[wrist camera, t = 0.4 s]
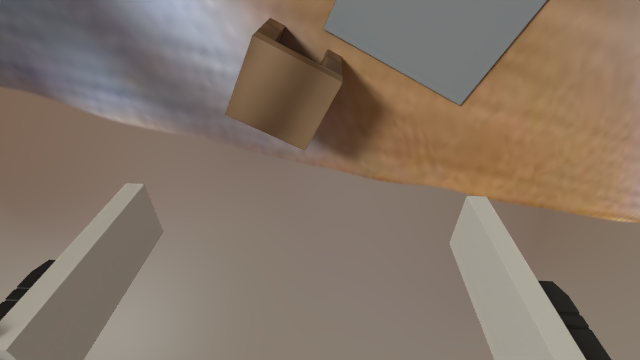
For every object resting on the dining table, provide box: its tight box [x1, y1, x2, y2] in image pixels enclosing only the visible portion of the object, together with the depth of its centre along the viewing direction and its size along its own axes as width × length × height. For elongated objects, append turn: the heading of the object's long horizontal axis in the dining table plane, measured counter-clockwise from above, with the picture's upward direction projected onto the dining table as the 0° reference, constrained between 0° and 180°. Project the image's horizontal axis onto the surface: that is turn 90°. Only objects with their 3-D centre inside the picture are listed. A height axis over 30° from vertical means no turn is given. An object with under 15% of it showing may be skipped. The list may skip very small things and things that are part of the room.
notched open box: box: [225, 18, 343, 150], centre depth 28 cm, size 8×7×8 cm
